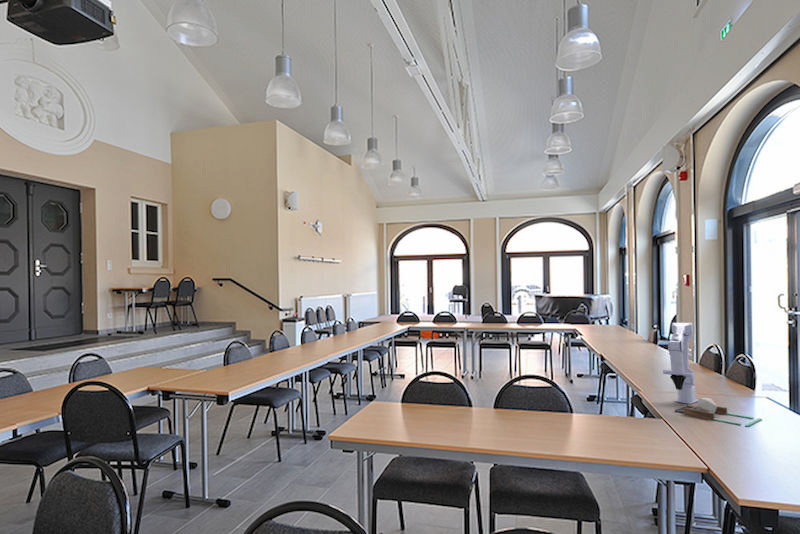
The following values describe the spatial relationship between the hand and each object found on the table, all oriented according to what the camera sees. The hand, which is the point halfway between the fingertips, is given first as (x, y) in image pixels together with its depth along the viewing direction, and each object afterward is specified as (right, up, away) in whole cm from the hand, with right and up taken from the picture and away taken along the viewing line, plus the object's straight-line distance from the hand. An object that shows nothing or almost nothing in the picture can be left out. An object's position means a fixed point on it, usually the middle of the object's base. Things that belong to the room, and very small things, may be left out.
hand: (679, 389), depth 238 cm
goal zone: (+14, -9, -22) cm, 28 cm away
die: (+7, -10, -11) cm, 16 cm away
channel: (+7, -10, -11) cm, 16 cm away
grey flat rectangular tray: (+2, -10, -3) cm, 11 cm away
